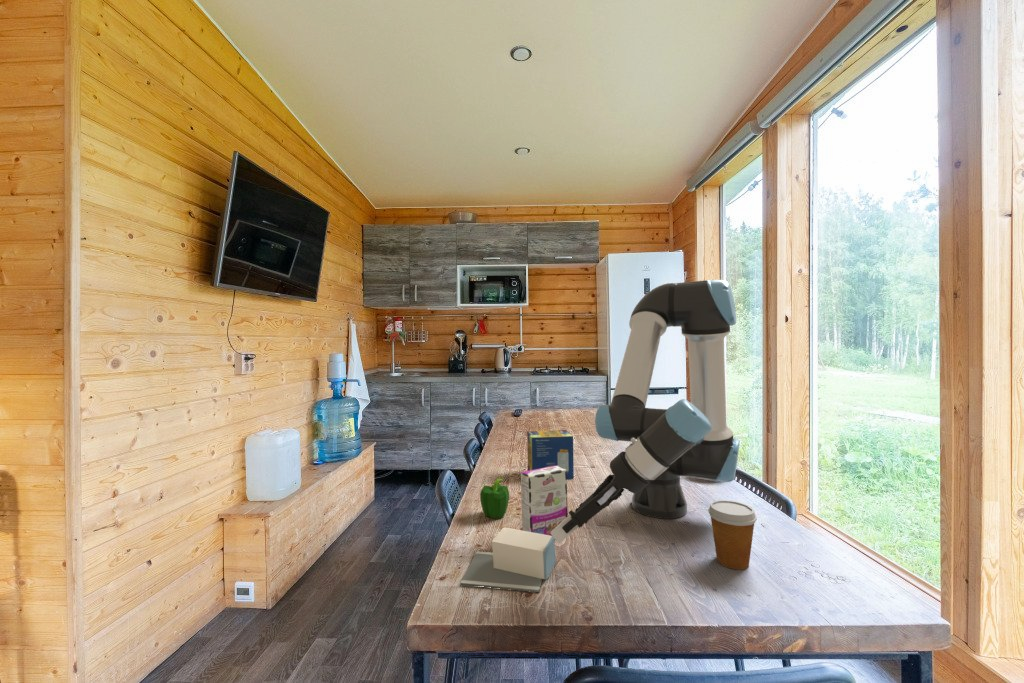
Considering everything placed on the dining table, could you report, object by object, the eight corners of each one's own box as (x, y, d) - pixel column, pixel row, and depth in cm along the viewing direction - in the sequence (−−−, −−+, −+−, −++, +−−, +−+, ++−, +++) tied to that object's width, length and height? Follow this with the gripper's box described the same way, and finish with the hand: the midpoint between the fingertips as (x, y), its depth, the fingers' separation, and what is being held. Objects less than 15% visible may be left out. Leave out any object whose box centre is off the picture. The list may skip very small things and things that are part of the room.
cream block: (554, 536, 92) (503, 527, 97) (545, 551, 86) (492, 541, 91) (555, 562, 92) (505, 552, 97) (546, 579, 87) (493, 567, 92)
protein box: (527, 472, 160) (526, 431, 160) (567, 470, 162) (566, 429, 162) (531, 481, 150) (530, 437, 150) (574, 479, 152) (573, 435, 152)
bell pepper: (486, 524, 115) (485, 487, 115) (476, 513, 123) (476, 478, 123) (515, 518, 119) (514, 482, 119) (503, 508, 126) (503, 474, 126)
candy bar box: (557, 526, 113) (556, 464, 113) (568, 534, 108) (567, 469, 108) (520, 536, 108) (519, 471, 108) (530, 544, 103) (529, 476, 103)
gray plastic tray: (546, 559, 96) (545, 556, 96) (539, 592, 83) (539, 589, 83) (477, 554, 99) (476, 551, 99) (460, 585, 86) (460, 582, 86)
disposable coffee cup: (756, 578, 87) (755, 519, 87) (705, 566, 92) (705, 510, 92) (758, 558, 95) (757, 504, 95) (711, 547, 100) (711, 496, 100)
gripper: (628, 442, 89) (553, 510, 96) (616, 458, 77) (532, 534, 84) (655, 471, 87) (577, 538, 94) (647, 492, 75) (558, 567, 82)
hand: (555, 536), depth 89 cm, fingers closed
